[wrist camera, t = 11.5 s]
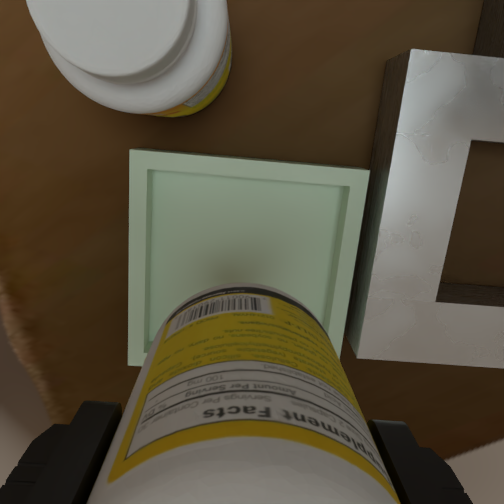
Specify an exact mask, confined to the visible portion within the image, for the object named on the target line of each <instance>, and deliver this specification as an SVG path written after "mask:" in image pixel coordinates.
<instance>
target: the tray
mask: <svg viewBox="0 0 504 504" xmlns="http://www.w3.org/2000/svg"><path fill="white" fill-rule="evenodd" d="M369 174H370V170H367V169H364V168H361V167H352V166H341V165H329V164H318V163H307V162H295V161H284V160H273V159H261V158H250V157H239V156H227V155H216V154H205V153H193V152H182V151H171V150H159V149H148V148H135V149H130V161H129V289H128V365H130V366H143V364H144V361H145V358H146V356H147V354H148V352H149V350H150V347H151V345H152V343H153V340H154V338H155V336H156V334H157V332H158V330H159V329H160V327H161V325H162V324H163V322H164V321H165V320H166V318H167V317H168V316H169V315H170V314H171V313H172V311H173V310H174V309H175V308H176V307H178V306H179V305H180V304H181V303H182V302H184V301H185V300H187V299H188V298H190V297H191V296H193V295H195V294H197V293H199V292H201V291H203V290H206V289H209V288H211V287H215V286H219V285H223V284H229V283H255V284H262V285H266V286H270V287H273V288H276V289H278V290H281V291H283V292H285V293H287V294H289V295H291V296H292V297H294V298H296V299H297V300H299V301H300V302H301V303H303V304H304V305H305V306H306V307H307V308H308V309H309V310H310V311H311V312H312V313H313V314H314V315H315V316H316V317H317V319H318V320H319V322H320V323H321V324H322V326H323V327H324V329H325V331H326V333H327V334H328V336H329V338H330V341H331V343H332V345H333V347H334V349H335V351H336V353H337V356H338V358H339V359H340V353H341V347H342V341H343V335H344V328H345V322H346V316H347V310H348V304H349V298H350V291H351V285H352V279H353V273H354V267H355V260H356V254H357V248H358V242H359V236H360V230H361V223H362V217H363V211H364V205H365V199H366V192H367V186H368V180H369Z"/></svg>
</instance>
